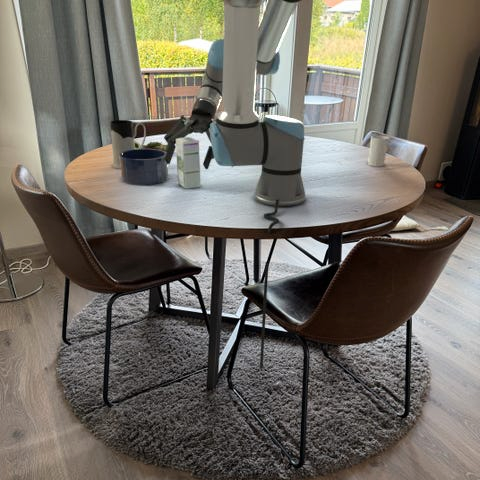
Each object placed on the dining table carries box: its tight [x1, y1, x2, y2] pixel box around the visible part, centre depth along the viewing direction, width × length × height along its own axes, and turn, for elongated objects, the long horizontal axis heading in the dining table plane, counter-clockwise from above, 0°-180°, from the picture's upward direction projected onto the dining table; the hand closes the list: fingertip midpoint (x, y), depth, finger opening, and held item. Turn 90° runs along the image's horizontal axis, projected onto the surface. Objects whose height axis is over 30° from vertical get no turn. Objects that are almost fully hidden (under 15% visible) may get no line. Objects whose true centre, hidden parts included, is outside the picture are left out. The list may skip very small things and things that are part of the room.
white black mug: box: [109, 119, 147, 170], centre depth 177 cm, size 9×14×15 cm, turn 135°
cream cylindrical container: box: [367, 134, 390, 167], centre depth 187 cm, size 7×7×10 cm
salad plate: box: [134, 140, 167, 153], centre depth 196 cm, size 19×18×5 cm
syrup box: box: [175, 136, 201, 190], centre depth 156 cm, size 6×6×14 cm
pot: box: [119, 149, 169, 186], centre depth 164 cm, size 15×15×8 cm
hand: (185, 164), depth 155 cm, fingers open, 13 cm apart
